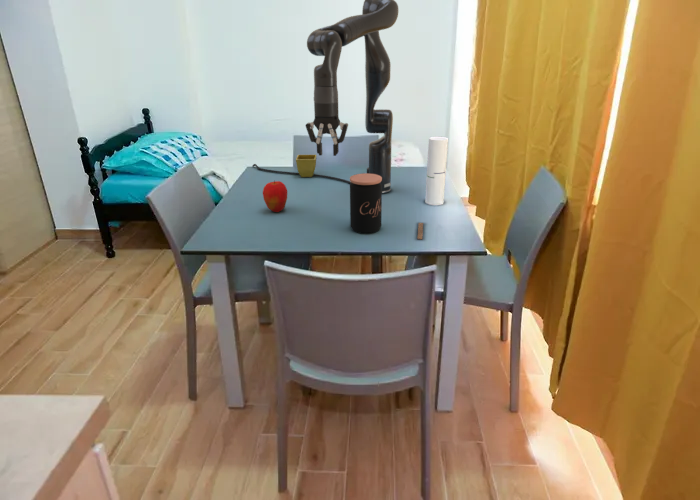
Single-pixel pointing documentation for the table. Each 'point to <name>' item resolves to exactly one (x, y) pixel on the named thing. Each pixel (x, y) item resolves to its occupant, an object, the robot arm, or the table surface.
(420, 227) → the strip
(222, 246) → the table surface
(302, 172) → the flower pot
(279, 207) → the apple
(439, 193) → the cylindrical container
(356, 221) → the coffee jar
